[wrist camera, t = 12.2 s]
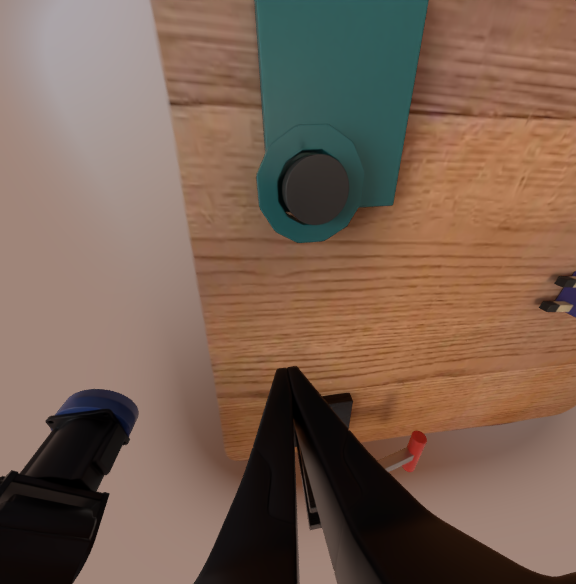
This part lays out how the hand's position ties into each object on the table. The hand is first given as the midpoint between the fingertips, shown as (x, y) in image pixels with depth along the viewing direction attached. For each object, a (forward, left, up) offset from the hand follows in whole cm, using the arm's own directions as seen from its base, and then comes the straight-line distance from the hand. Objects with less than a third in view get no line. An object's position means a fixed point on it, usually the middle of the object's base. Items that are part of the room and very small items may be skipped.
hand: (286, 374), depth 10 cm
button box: (+5, +10, -12) cm, 16 cm away
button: (+3, +6, -8) cm, 11 cm away
